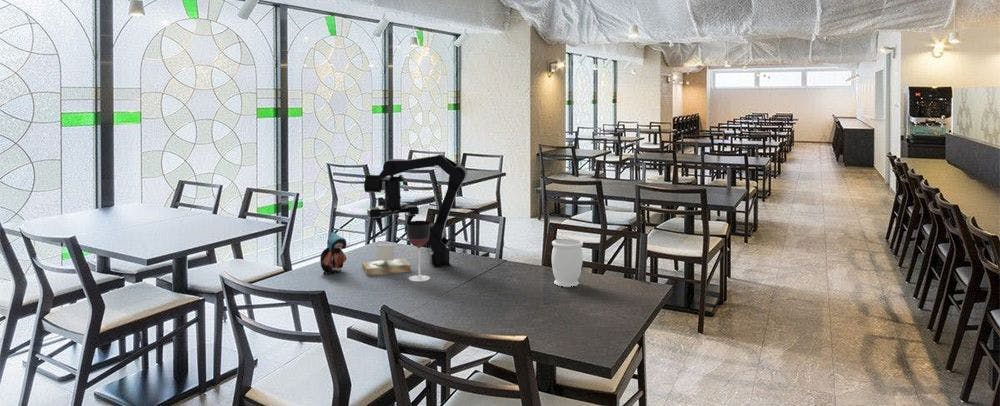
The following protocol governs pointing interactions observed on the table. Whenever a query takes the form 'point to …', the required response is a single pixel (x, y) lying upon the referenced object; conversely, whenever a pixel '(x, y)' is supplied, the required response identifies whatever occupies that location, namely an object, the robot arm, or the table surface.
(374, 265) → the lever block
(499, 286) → the table surface
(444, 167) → the robot arm
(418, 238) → the wineglass
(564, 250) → the jar
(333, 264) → the figurine
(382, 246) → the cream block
